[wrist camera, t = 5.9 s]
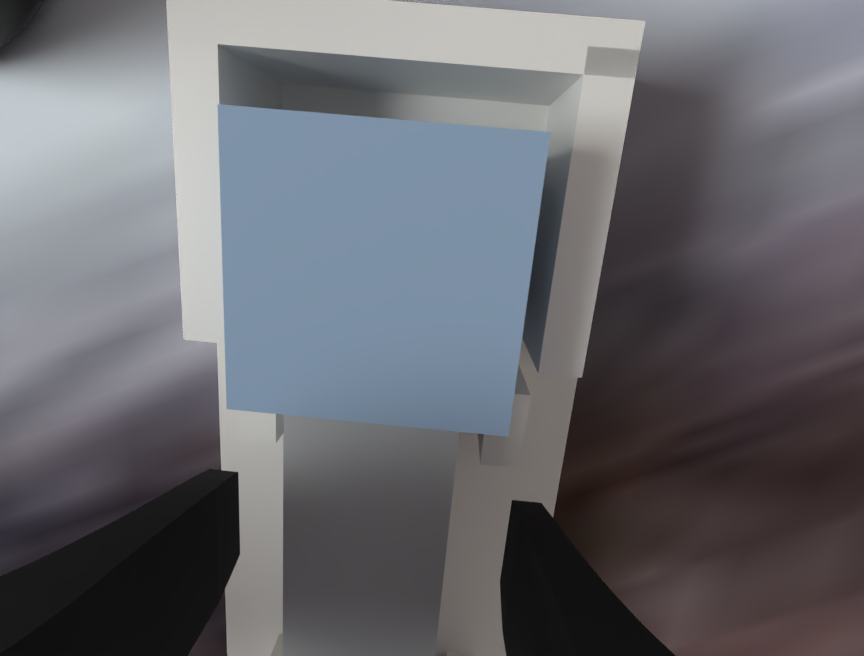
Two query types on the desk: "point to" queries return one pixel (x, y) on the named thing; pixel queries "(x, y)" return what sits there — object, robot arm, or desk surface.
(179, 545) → the robot arm
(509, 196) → the blue-capped grey bar
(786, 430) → the desk surface
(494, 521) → the slider rail
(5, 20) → the supplement bottle
